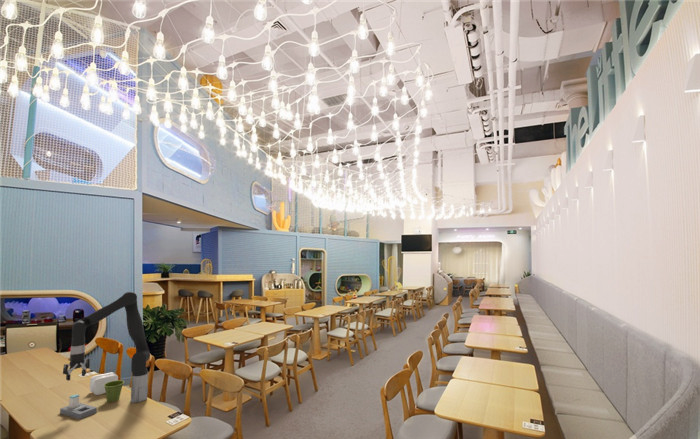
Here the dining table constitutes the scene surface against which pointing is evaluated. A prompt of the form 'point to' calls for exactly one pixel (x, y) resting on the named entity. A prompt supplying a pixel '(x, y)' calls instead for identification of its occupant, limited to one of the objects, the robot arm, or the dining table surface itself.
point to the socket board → (78, 411)
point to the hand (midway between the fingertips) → (76, 378)
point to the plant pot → (113, 390)
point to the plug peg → (74, 401)
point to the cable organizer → (101, 382)
